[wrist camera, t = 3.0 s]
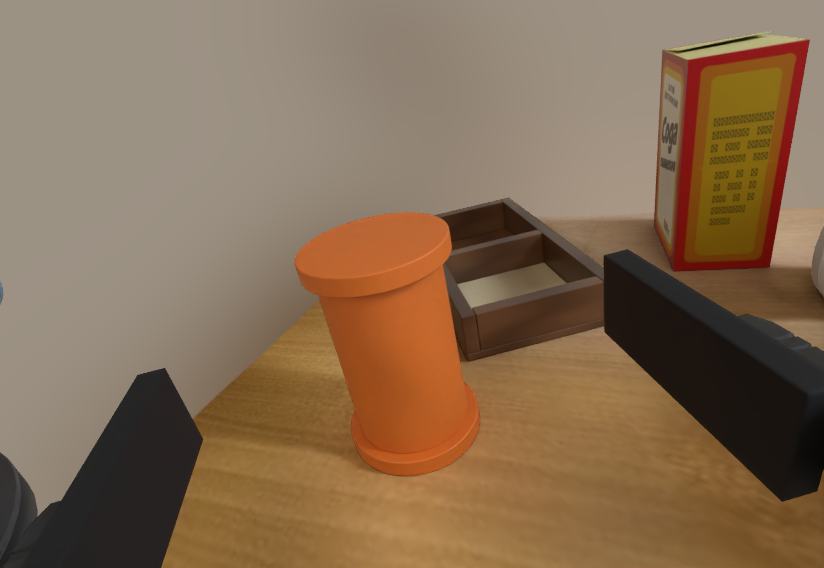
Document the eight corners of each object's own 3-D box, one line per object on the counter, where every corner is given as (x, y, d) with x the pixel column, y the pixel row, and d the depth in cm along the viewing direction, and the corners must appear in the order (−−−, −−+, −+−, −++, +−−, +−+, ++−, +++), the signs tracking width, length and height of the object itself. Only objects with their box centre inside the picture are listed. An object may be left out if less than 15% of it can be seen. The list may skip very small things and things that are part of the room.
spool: (359, 492, 24) (288, 294, 19) (351, 399, 31) (298, 233, 26) (498, 454, 25) (467, 250, 20) (461, 370, 32) (431, 201, 26)
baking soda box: (769, 267, 36) (811, 33, 28) (673, 270, 38) (688, 53, 31) (732, 220, 44) (756, 28, 36) (653, 226, 46) (662, 44, 38)
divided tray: (468, 361, 32) (460, 318, 31) (415, 251, 51) (409, 221, 50) (617, 322, 33) (618, 277, 32) (511, 228, 52) (508, 197, 50)
